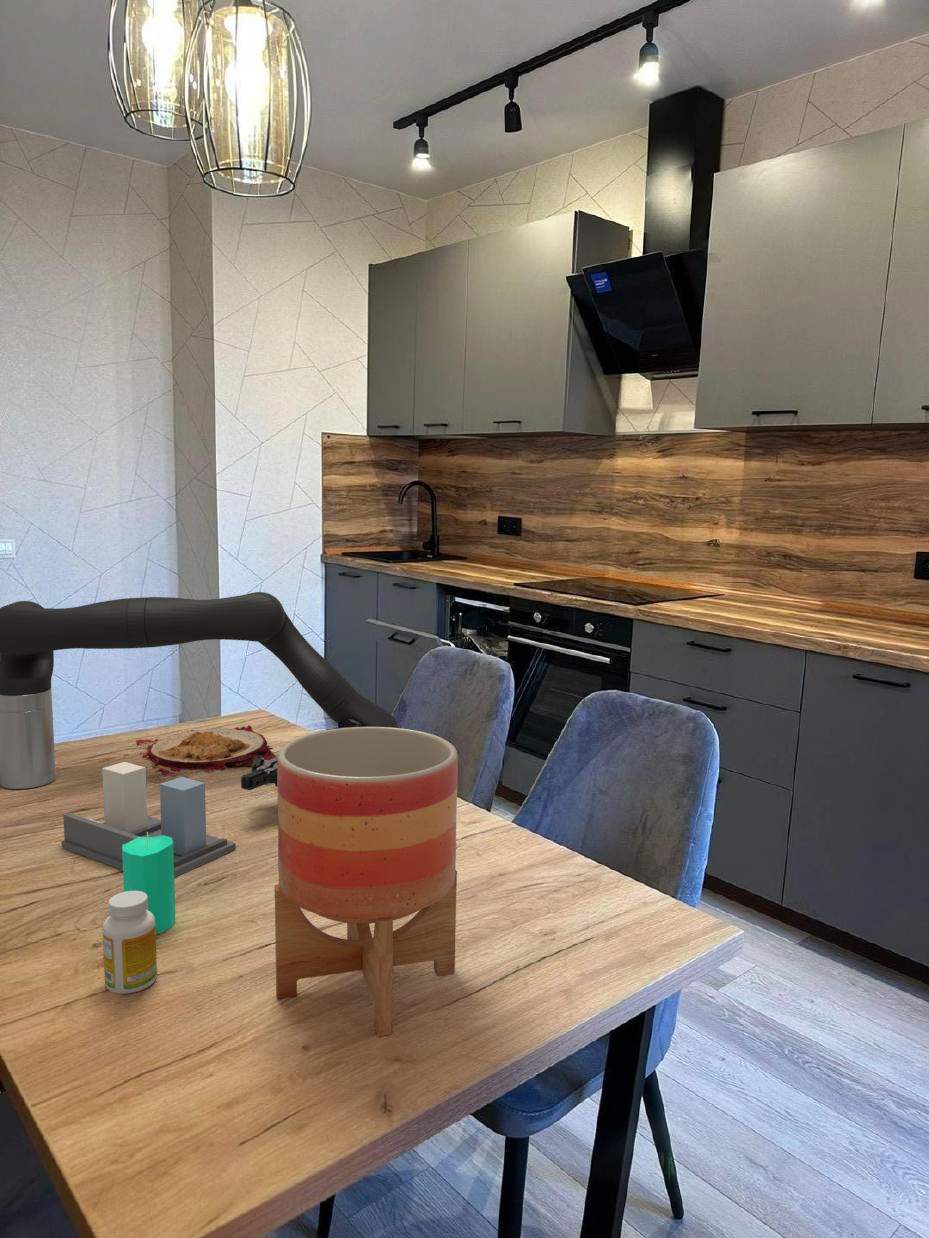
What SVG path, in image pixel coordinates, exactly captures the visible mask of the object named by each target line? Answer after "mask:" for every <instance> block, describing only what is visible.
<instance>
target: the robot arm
mask: <svg viewBox="0 0 929 1238" xmlns="http://www.w3.org/2000/svg"><path fill="white" fill-rule="evenodd" d="M207 640H208V641H209V640H211V641H212V640H214V641H215V640H218V641H220V640H223V641H227V640H229V641H243V642H244V641H246V642H247V641H248V642H255V643H257V642H258V643H259V644H260V645H262V646H263V647H265V648H266V649H267V650H269V651H270V652H271V653H272V654H273V655H274V656H275V657H276V658H277V659H278V660H280V662H281V663H282V664H283V665H284V666H285V667H286V668H287V669H288V671H290V672H291V674H292V675H293V677H294V678H295V679H296V680H297V682H298V683H299V684H300V685H301V687H302V688H303V690H305V692H306V693H307V694H308V695H309V697H310V698H311V699H312V700H313V701H314V702H315V703H316V704H317V705H318V706H319V707H320V708H321V710H323V711H324V713H326V715H327V716H328V717H329V718H330V719H331V720H333V721H334V722H336V723H343V722H345V721H349V720H353V721H355V722H357V723H358V724H357V725H356V726H355V727H392V728H400V727H399V725H398V722H397V720H396V719H395V717H394V716H393V715H392V714H391V713H390V712H389V711H387V710H385V709H384V708H383V707H381V706H379V705H377V704H376V703H375V702H373V701H372V700H370V699H368V698H367V697H365V696H363V695H361V694H360V693H359V692H358V691H357V690H356V689H355V688H354V686H353V685H351V684H350V682H349V681H347V680H346V679H345V677H344V676H342V674H340V673H339V671H338V670H337V669H336V668H334V667H333V665H331V663H329V661H327V660H326V659H325V658H324V657H323V656H322V655H321V654H320V653H319V652H318V651H317V650H316V649H315V648H314V647H313V646H312V645H311V644H310V643H309V641H307V639H306V638H305V637H304V636H303V635H302V634H301V632H300V631H299V630H298V628H297V627H296V626H295V624H294V623H293V621H292V620H291V619H290V617H289V615H288V613H286V611H285V609H284V606H283V604H282V602H280V600H279V599H278V598H277V597H276V596H274V595H273V594H270V593H268V592H264V591H255V592H251V593H245V594H241V595H236V596H229V597H221V598H220V597H219V598H212V599H192V598H185V597H184V598H181V597H171V596H170V597H169V596H167V597H165V596H149V597H148V596H147V597H146V596H145V597H142V596H141V597H127V598H117V599H112V600H111V599H109V600H104V601H100V602H93V603H88V604H86V605H79V606H73V607H65V608H63V607H62V608H51V607H50V608H49V607H48V608H46V607H43V606H42V605H41V604H39V603H37V602H34V601H31V600H18V601H15V602H12V603H9V604H7V605H3V606H1V607H0V787H2V788H5V789H10V790H13V789H14V790H20V789H21V790H23V789H24V790H25V789H32V788H37V787H42V786H45V785H48V784H51V783H53V781H55V780H56V776H57V775H56V757H55V755H56V754H55V753H56V752H55V733H54V713H53V695H52V692H53V691H52V677H53V673H54V664H55V663H54V662H55V659H54V658H55V655H54V651H60V650H73V649H74V650H75V649H85V650H86V649H87V650H88V649H89V650H91V649H92V650H96V649H97V650H104V649H105V650H109V649H110V650H113V649H118V650H119V649H120V650H121V649H123V650H124V649H127V650H128V649H147V648H149V649H150V648H158V647H160V648H161V647H168V646H175V645H183V644H189V643H193V642H198V641H200V642H201V641H207ZM351 727H352V726H344V727H342V728H351ZM340 728H341V727H340ZM340 728H338V729H340ZM277 762H278V754H277V755H275V756H274V757H272V758H271V760H264V758H262V756H255V758H254V761H253V763H252V766H251V772H249V773H245V774H243V775H242V776H241V777H240V787H241V789H242V790H243V789H244V790H247V791H252V790H254V789H257V788H260V787H261V786H267V787H269V786H272V785H274V786H275V787H277Z"/></svg>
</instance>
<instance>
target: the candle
mask: <svg viewBox="0 0 929 1238" xmlns="http://www.w3.org/2000/svg"><path fill="white" fill-rule="evenodd" d="M122 856H123V870H122V874H123V875H122V877H123V878H122V879H123V881H122V883H123V892H126V891H141V892H144V893H146V894H147V896H148V909H147V910H148V911H150V912H151V913H152V914H153V915H154V918H155V931H156V935H157V934H161V933H163V932H165V931H167V930H170V929H171V928H172V926H174V924H175V923H176V898H175V897H176V896H175V892H176V891H175V877H174V855H173V841H172V838H171V837H167V836H157V837H148V832H147V837H138V838H136V839H134V840H132V841H130V842H128V843H126V844H124V845H122Z"/></svg>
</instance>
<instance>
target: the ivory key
mask: <svg viewBox="0 0 929 1238" xmlns="http://www.w3.org/2000/svg"><path fill="white" fill-rule="evenodd" d="M146 768H147V766H141V765H137V764H134V763H131V762H127V761H122V762H119V763H116V764H112V765H109V766H105V767H103V768H101V769H102V770H101V771H102V773H101V774H102V796H103V819H104V822H103V823H104V825H107V826H110V827H113V828H116V829H119V830H122V831H125V832H128V833H133V832H135V831H138V830H141V829H143V828H146V827H147V816H148V806H147V805H148V804H147V799H148V797H147V777H146V776H147V772H146Z"/></svg>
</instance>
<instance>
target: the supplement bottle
mask: <svg viewBox="0 0 929 1238" xmlns="http://www.w3.org/2000/svg"><path fill="white" fill-rule="evenodd" d="M147 909H148V896H147V894H146V893H144V892H141V891H126V892H124V891H123V892H120V893H117V894H115V895H113V896H111V897H110V898H109V900H108V914H109V916H107V918H106V919H105V920H104V922H103V924H102V946H103V947H102V949H103V951H102V952H103V969H104V970H103V971H104V973H103V975H104V985H105V987H106V989H107V990H108V991H109V992H111V993H114V994H120V995H124V994H127V995H128V994H132V993H133V994H134V993H137V992H139V991H140V992H141V991H143V990H145V989H146V988H148V987H150V986H151V985H152V984H153V983H154V982H155V981H156V979H157V975H158V966H157V965H158V964H157V963H158V962H157V938H156V936H157V934H156V931H155V918H154V915H153V914H152V913H151V912H150V911H148V910H147Z"/></svg>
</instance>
